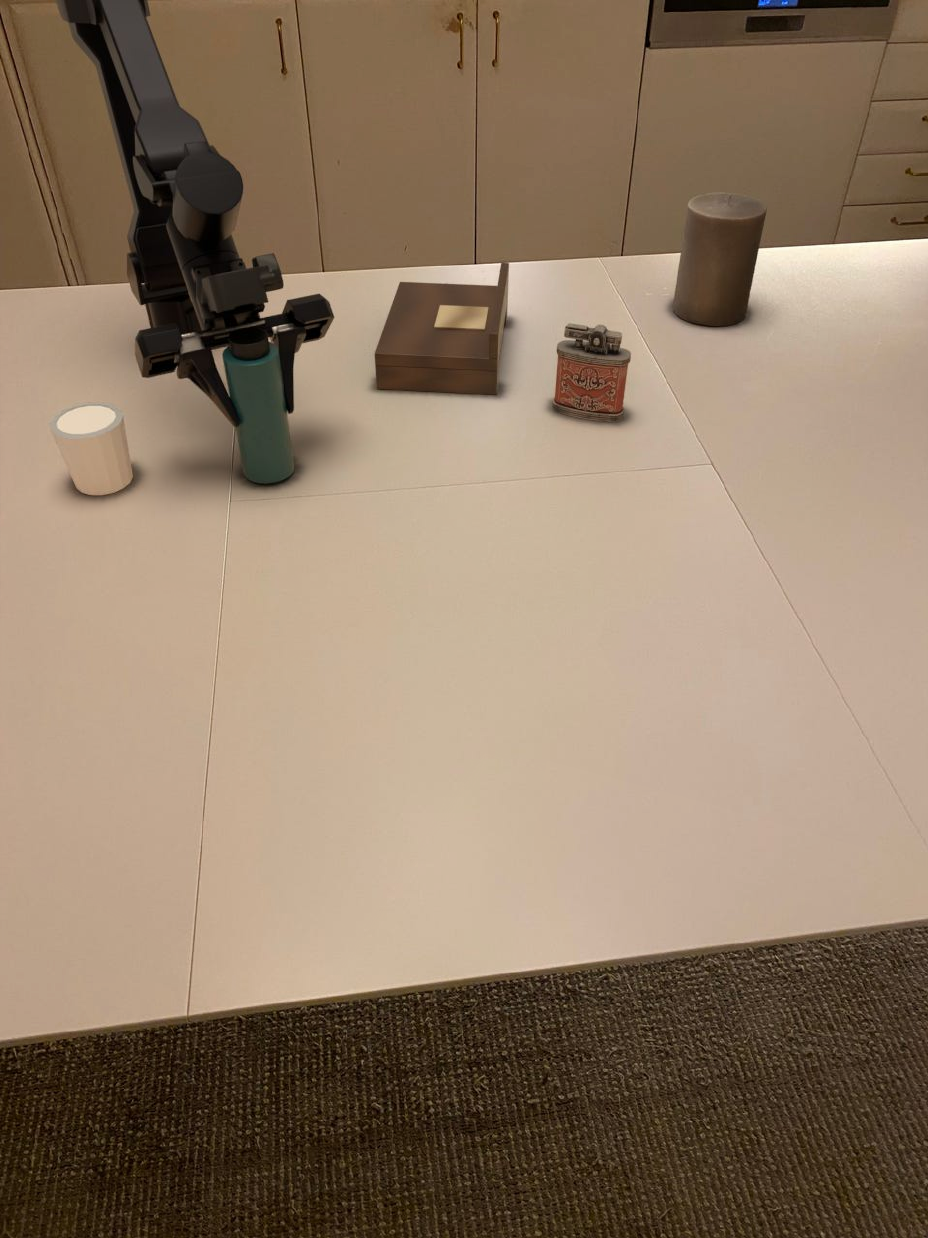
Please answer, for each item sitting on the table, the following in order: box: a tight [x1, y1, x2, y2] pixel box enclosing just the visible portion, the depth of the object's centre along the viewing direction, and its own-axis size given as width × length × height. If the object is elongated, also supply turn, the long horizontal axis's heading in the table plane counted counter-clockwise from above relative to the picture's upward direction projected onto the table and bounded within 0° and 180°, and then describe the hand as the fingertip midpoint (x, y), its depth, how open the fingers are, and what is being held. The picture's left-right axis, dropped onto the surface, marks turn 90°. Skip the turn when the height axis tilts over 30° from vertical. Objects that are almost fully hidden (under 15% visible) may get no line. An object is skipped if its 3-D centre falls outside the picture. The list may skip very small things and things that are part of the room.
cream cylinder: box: [49, 402, 134, 496], centre depth 94 cm, size 7×7×7 cm
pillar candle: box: [672, 191, 768, 327], centre depth 122 cm, size 10×10×15 cm
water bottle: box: [221, 327, 295, 484], centre depth 93 cm, size 5×5×15 cm
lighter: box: [552, 322, 632, 423], centre depth 104 cm, size 8×3×10 cm, turn 71°
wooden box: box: [374, 262, 510, 396], centre depth 115 cm, size 14×20×8 cm
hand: (264, 419), depth 92 cm, fingers closed on water bottle, 5 cm apart
